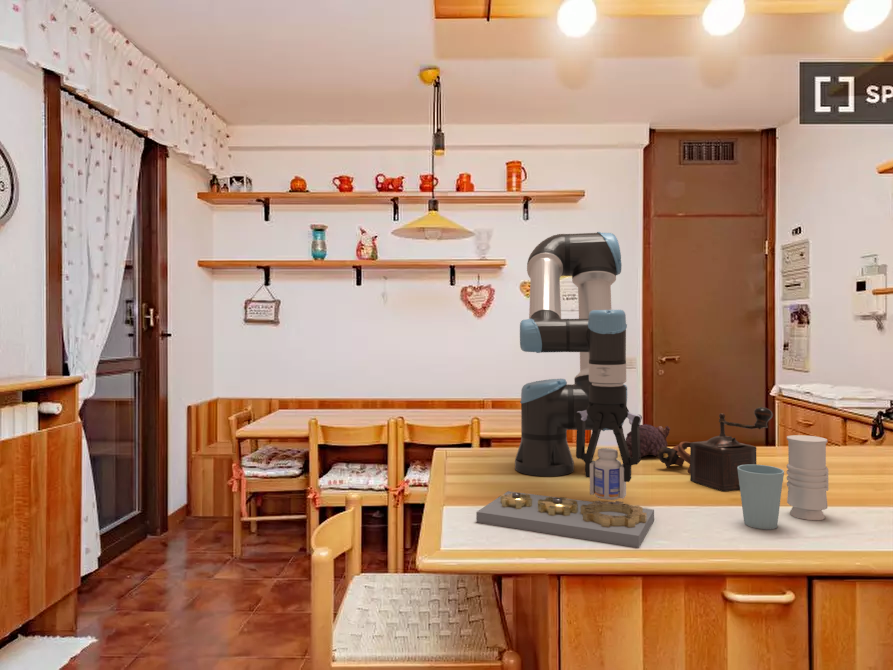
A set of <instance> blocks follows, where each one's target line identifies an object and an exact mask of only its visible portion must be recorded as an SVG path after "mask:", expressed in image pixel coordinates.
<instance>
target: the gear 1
mask: <svg viewBox="0 0 893 670" xmlns="http://www.w3.org/2000/svg"><path fill="white" fill-rule="evenodd" d="M552 497H553V496H550V497H546V499H545V500H542V499H539V500H538V511H539V512H541V513H543V512H546V513H548V515H553V516H555V515H556V514H557V515H564V516H568V515H570V513H577V512H578V504H577V501H575V500H576V499H574V500H568V499H569V498H567V497H562V496H560V497H558V498H552Z"/></svg>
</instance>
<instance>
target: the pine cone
mask: <svg viewBox="0 0 893 670" xmlns="http://www.w3.org/2000/svg"><path fill="white" fill-rule="evenodd" d="M670 431H671V427H670V426H667V425H666V426H665V428H664V427H663V426H662V425H659V426H657V427H655V425H651V424H647V423H644V424H640V425H639V432H640V456H641V458H643V457H647V455H650V456H655V457H658V456H657V452H658V450H659V449H660V448H662V447H668V441H667V438H668V436H669V434H670ZM625 440H626V444H627V447H628V450H629V454H630V457H631V458H632V442H631V430H630V431H629V432H628V433H627V434H626V437H625Z"/></svg>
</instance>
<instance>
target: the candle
mask: <svg viewBox="0 0 893 670" xmlns="http://www.w3.org/2000/svg"><path fill="white" fill-rule="evenodd" d="M786 440H787V441H788V442H787V444H788V447H787V449H788V450H787V451H788V454H787V455H788V458H787V459H788V460H787V461H788V462H787V464H786V469H787V470H786V474H787V476H786V481H787V482H786V486H787V498H786V499H787V500H786V503H787V504H788V505H789V506H791V509H790V511H789V515H790V516H792V517H795V518H798V519H801V520H807V521H822V520H825V519H826V517H825V514H824V511H825V510H827V509H828V508H829V507H828V497H827V496H828V495H827V492H828V491H829V468H828V467H827V448H826V447H827V443H828V439H827V438H824V437H821V436H815V435H801V434H800V435H799V434H797V435H795V434H793V435H787V436H786Z"/></svg>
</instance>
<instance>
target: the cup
mask: <svg viewBox="0 0 893 670" xmlns="http://www.w3.org/2000/svg"><path fill="white" fill-rule="evenodd" d="M737 469H738V477H739V485H740V490H739V491H740V499H741V501H740V502H741V507H742V518H743V523H744V525H746V526H748V527H751V528H753V529H759V530H774V529H777V527H778V524H779V514H780V507H781V497H782V491H783V490H782V489H783V483H784V477H785V476H784V475H785V470H784V469H781V468H780V467H776V466H772V465H766V464H765V465H764V464H756V465H755V464H748V465H740V466H738V467H737Z"/></svg>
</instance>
